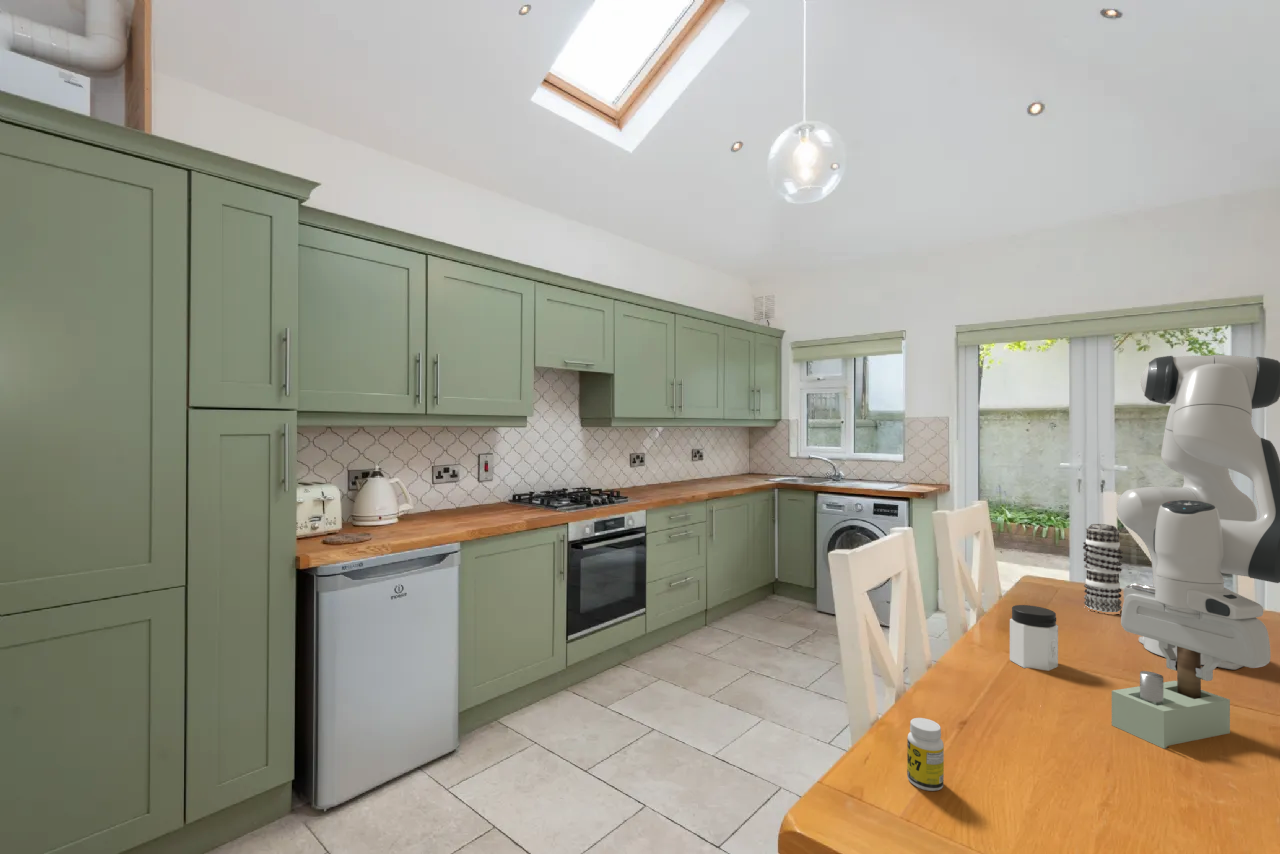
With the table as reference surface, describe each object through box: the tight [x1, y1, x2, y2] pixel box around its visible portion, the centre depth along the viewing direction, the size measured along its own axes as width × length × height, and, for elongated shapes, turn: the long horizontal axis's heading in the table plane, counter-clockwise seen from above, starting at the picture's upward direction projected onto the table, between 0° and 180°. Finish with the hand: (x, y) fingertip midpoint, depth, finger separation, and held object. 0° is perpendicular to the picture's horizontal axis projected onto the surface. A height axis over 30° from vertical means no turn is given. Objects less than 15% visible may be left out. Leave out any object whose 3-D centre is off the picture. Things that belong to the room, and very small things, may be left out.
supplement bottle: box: [906, 717, 945, 792], centre depth 85 cm, size 5×5×8 cm
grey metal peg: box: [1139, 670, 1164, 706], centre depth 100 cm, size 3×3×10 cm
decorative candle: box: [1082, 523, 1123, 612], centre depth 172 cm, size 9×9×25 cm
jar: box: [1009, 604, 1059, 672], centre depth 130 cm, size 9×8×12 cm
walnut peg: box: [1176, 646, 1202, 699], centre depth 102 cm, size 3×3×10 cm
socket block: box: [1111, 680, 1231, 749], centre depth 101 cm, size 16×8×6 cm, turn 107°
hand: (1189, 674), depth 102 cm, fingers closed on walnut peg, 3 cm apart
